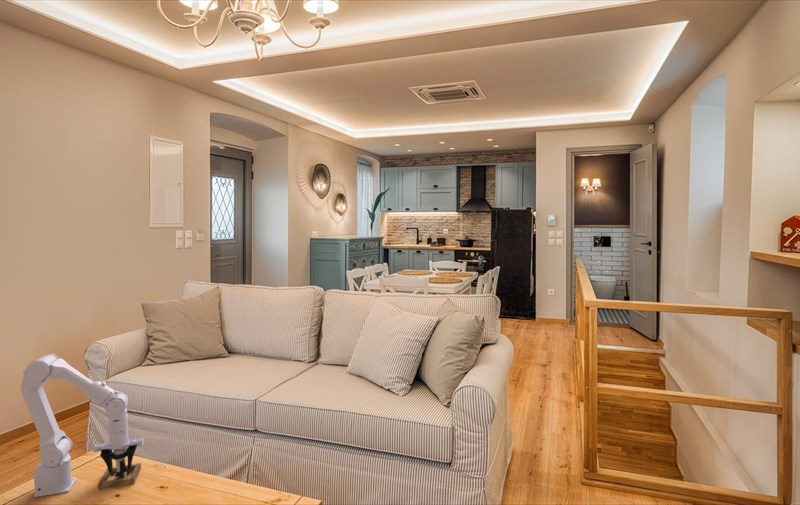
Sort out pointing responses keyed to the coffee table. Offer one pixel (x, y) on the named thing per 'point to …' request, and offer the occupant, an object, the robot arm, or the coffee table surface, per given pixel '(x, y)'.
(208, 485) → the coffee table surface
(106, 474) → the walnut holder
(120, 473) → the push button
